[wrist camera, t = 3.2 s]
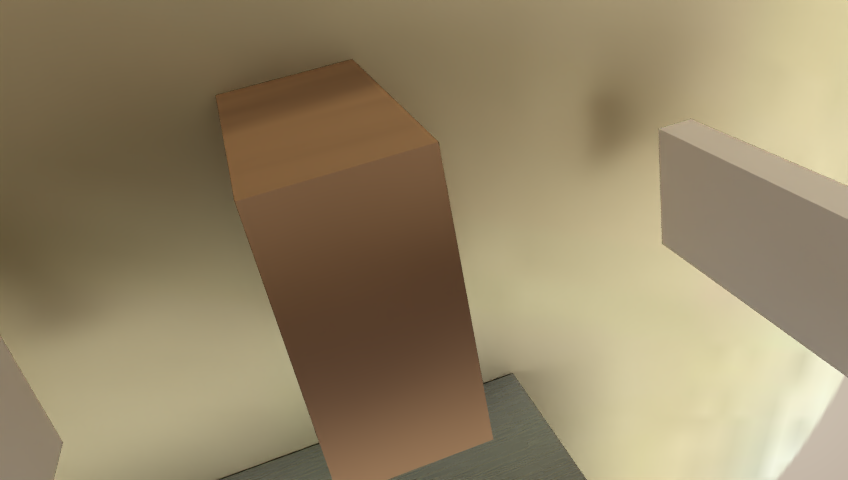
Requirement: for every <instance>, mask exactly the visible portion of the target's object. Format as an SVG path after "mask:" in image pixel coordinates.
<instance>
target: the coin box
mask: <svg viewBox="0 0 848 480" xmlns="http://www.w3.org/2000/svg"><path fill="white" fill-rule="evenodd" d="M483 386H484V392H485V397H486V402H487V408H488V413H489V419H490V424H491V430H492V435H493V440H491V441H488V442H485V443H483V444H480V445H477V446H475V447H472V448H469V449H467V450H464V451H462V452H459V453H456V454H454V455H451V456H448V457H446V458H443V459H440V460H438V461H435V462H433V463H430V464H427V465H425V466H422V467H419V468H417V469H414V470H411V471H409V472H406V473H404V474H401V475H398V476H396V477H393V478H390V479H388V480H587V479H586V478H585V477H584V475H583V474H582V472H581V471H580V469H579V468H578V467H577V465H576V464H575V462H574V461H573V459H572V458H571V456H570V455H569V454H568V452H567V451H566V449H565V448H564V446H563V445H562V443H561V442H560V441H559V439H558V438H557V436H556V435H555V433H554V432H553V431H552V429H551V428H550V426H549V425H548V423H547V422H546V420H545V419H544V418H543V416H542V415H541V413H540V412H539V410H538V409H537V407H536V406H535V405H534V403H533V402H532V400H531V399H530V397H529V396H528V394H527V393H526V392H525V390H524V389H523V387H522V386H521V384H520V383H519V382H518V380H517V379H516V377H515V376H514V374H510V375H507V376H505V377H502V378H499V379H496V380H494V381H491V382H488V383H485V384H483ZM221 480H332V477H331V474H330V471H329V469H328V466H327V463H326V460H325V457H324V454H323V452H322V449H321V446H320V444H317V445H314V446H312V447H309V448H306V449H303V450H301V451H298V452H295V453H292V454H290V455H287V456H284V457H281V458H279V459H276V460H273V461H270V462H268V463H265V464H262V465H259V466H257V467H254V468H251V469H248V470H246V471H243V472H240V473H237V474H235V475H232V476H229V477H226V478H224V479H221Z"/></svg>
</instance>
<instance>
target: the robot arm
mask: <svg viewBox="0 0 848 480" xmlns="http://www.w3.org/2000/svg"><path fill="white" fill-rule="evenodd" d="M658 131H659V164H660V196H661V228H662V244H663V245H665V246H666V247H668V248H669V249H670V250H672V251H673V252H675V253H676V254H677V255H679V256H680V257H681V258H683V259H684V260H686V261H687V262H688V263H690V264H691V265H693V266H694V267H695V268H697V269H698V270H699V271H701V272H702V273H704V274H705V275H706V276H708V277H709V278H711V279H712V280H713V281H715V282H716V283H718V284H719V285H720V286H722V287H723V288H724V289H726V290H727V291H729V292H730V293H731V294H733V295H734V296H736V297H737V298H738V299H740V300H741V301H742V302H744V303H745V304H747V305H748V306H749V307H751V308H752V309H754V310H755V311H756V312H758V313H759V314H761V315H762V316H763V317H765V318H766V319H767V320H769V321H770V322H772V323H773V324H774V325H776V326H777V327H779V328H780V329H781V330H783V331H784V332H785V333H787V334H788V335H790V336H791V337H792V338H794V339H795V340H797V341H798V342H799V343H801V344H802V345H803V346H805V347H806V348H808V349H809V350H810V351H812V352H813V353H815V354H816V355H817V356H819V357H820V358H822V359H823V360H824V361H826V362H827V363H828V364H830V365H831V366H833V367H834V368H835V369H837V370H838V371H840V372H841V373H842V374H844V375H845V376H846V377H848V186H847V185H845V184H842V183H840V182H838V181H835V180H833V179H831V178H828V177H826V176H824V175H821V174H819V173H816V172H814V171H812V170H809V169H807V168H805V167H802V166H800V165H798V164H795V163H793V162H791V161H788V160H786V159H784V158H781V157H779V156H777V155H774V154H772V153H770V152H767V151H765V150H763V149H760V148H758V147H756V146H753V145H751V144H749V143H746V142H744V141H742V140H739V139H737V138H735V137H732V136H730V135H728V134H725V133H723V132H721V131H718V130H716V129H714V128H711V127H709V126H707V125H704V124H702V123H700V122H697V121H695V120H693V119H689V120H685V121H682V122H679V123H675V124H672V125H669V126H665V127H662V128H659V129H658ZM62 444H63V442H62V440H61V438H60V437H59V435H58V433H57V431H56V430H55V428H54V426H53V425H52V423H51V421H50V419H49V418H48V416H47V414H46V413H45V411H44V409H43V408H42V406H41V404H40V402H39V401H38V399H37V397H36V396H35V394H34V392H33V390H32V389H31V387H30V385H29V384H28V382H27V380H26V378H25V377H24V375H23V373H22V372H21V370H20V368H19V366H18V365H17V363H16V361H15V360H14V358H13V356H12V354H11V353H10V351H9V349H8V348H7V346H6V344H5V342H4V341H3V339H2V337H1V336H0V480H54V477H55V473H56V469H57V464H58V460H59V456H60V452H61V448H62Z"/></svg>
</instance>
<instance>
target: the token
mask: <svg viewBox="0 0 848 480" xmlns="http://www.w3.org/2000/svg"><path fill="white" fill-rule="evenodd" d="M216 100H217V106H218V111H219V117H220V123H221V128H222V134H223V139H224V145H225V151H226V156H227V162H228V167H229V173H230V179H231V184H232V190H233V196H234V201H235V204H236V207H237V210H238V213H239V216H240V218H241V221H242V224H243V227H244V230H245V233H246V235H247V238H248V241H249V244H250V247H251V250H252V253H253V255H254V258H255V261H256V264H257V267H258V270H259V272H260V275H261V278H262V281H263V284H264V287H265V290H266V292H267V295H268V298H269V301H270V304H271V307H272V309H273V312H274V315H275V318H276V321H277V324H278V326H279V329H280V332H281V335H282V338H283V341H284V344H285V346H286V349H287V352H288V355H289V358H290V361H291V363H292V366H293V369H294V372H295V375H296V378H297V380H298V383H299V386H300V389H301V392H302V395H303V398H304V400H305V403H306V406H307V409H308V412H309V415H310V417H311V420H312V423H313V426H314V429H315V432H316V435H317V437H318V440H319V443H320V446H321V449H322V452H323V454H324V457H325V460H326V463H327V466H328V469H329V471H330V474H331V477H332V480H388V479H390V478H393V477H396V476H398V475H401V474H404V473H406V472H409V471H411V470H414V469H417V468H419V467H422V466H425V465H427V464H430V463H433V462H435V461H438V460H440V459H443V458H446V457H448V456H451V455H454V454H456V453H459V452H462V451H464V450H467V449H469V448H472V447H475V446H477V445H480V444H483V443H485V442H488V441H491V440H493V435H492V430H491V424H490V419H489V413H488V408H487V402H486V397H485V392H484V386H483V381H482V375H481V370H480V364H479V359H478V354H477V348H476V343H475V337H474V332H473V327H472V321H471V316H470V310H469V305H468V299H467V294H466V289H465V283H464V278H463V272H462V267H461V261H460V256H459V251H458V245H457V240H456V234H455V229H454V224H453V218H452V213H451V207H450V202H449V196H448V191H447V186H446V180H445V175H444V169H443V164H442V158H441V153H440V148H439V142H438V141H437V140H436V139H435V138H434V137H433V136H432V135H431V134H430V133H429V132H428V131H427V130H426V129H424V128H423V127H422V126H421V125H420V124H419V123H418V122H417V121H416V120H415V119H414V118H413V117H412V116H411V115H410V114H409V113H408V112H407V111H406V110H405V109H404V108H403V107H402V106H401V105H400V104H398V103H397V102H396V101H395V100H394V99H393V98H392V97H391V96H390V95H389V94H388V93H387V92H386V91H385V90H384V89H383V88H382V87H381V86H380V85H379V84H378V83H377V82H376V81H375V80H373V79H372V78H371V77H370V76H369V75H368V74H367V73H366V72H365V71H364V70H363V69H362V68H361V67H360V66H359V65H358V64H357V63H356V62H355V61H354V60H353V59H350V60H347V61H343V62H339V63H335V64H332V65H328V66H324V67H320V68H316V69H313V70H309V71H305V72H301V73H297V74H294V75H290V76H286V77H282V78H279V79H275V80H271V81H267V82H263V83H260V84H256V85H252V86H248V87H244V88H241V89H237V90H233V91H229V92H226V93H222V94H218V95H216Z"/></svg>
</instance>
